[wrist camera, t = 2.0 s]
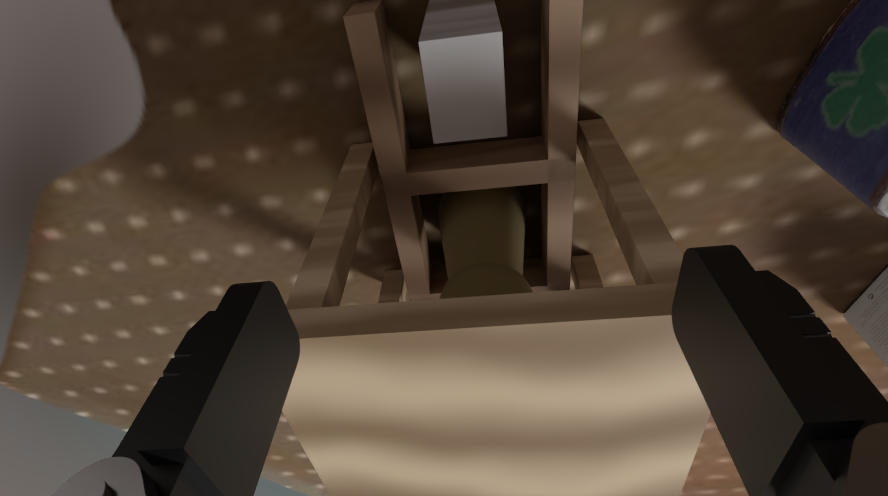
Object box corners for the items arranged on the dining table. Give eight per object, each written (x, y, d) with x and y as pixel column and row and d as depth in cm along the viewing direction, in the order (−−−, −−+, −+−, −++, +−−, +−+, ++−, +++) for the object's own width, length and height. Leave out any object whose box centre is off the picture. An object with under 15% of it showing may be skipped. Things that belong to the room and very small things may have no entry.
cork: (524, 169, 31) (548, 284, 22) (527, 243, 35) (548, 367, 26) (431, 179, 32) (419, 295, 23) (444, 250, 35) (438, 373, 27)
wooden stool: (337, 138, 30) (242, 342, 17) (617, 108, 28) (748, 310, 15) (398, 355, 43) (371, 566, 30) (594, 344, 41) (654, 562, 28)
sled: (354, 2, 25) (311, 55, 18) (571, -27, 24) (618, 16, 17) (415, 282, 37) (403, 381, 30) (561, 271, 36) (586, 371, 28)
